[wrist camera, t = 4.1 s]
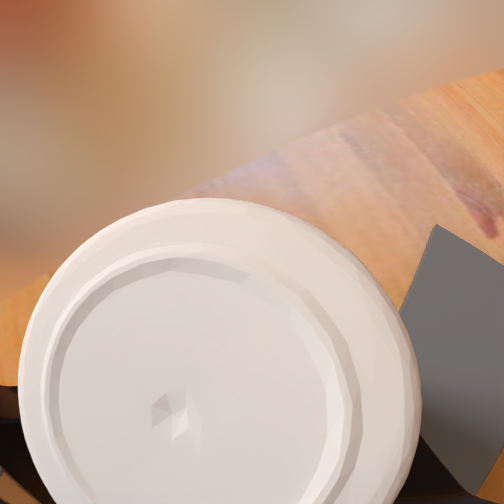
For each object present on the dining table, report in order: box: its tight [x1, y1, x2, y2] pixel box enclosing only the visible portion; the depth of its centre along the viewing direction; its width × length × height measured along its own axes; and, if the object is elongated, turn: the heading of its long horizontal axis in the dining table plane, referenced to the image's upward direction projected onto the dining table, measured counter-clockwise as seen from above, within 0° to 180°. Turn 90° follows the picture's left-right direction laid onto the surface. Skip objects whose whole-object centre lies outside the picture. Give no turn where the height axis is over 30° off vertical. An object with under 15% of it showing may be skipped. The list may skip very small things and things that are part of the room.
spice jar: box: [18, 198, 422, 504], centre depth 9 cm, size 5×5×13 cm
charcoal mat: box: [399, 224, 504, 496], centre depth 13 cm, size 18×10×1 cm, turn 147°
